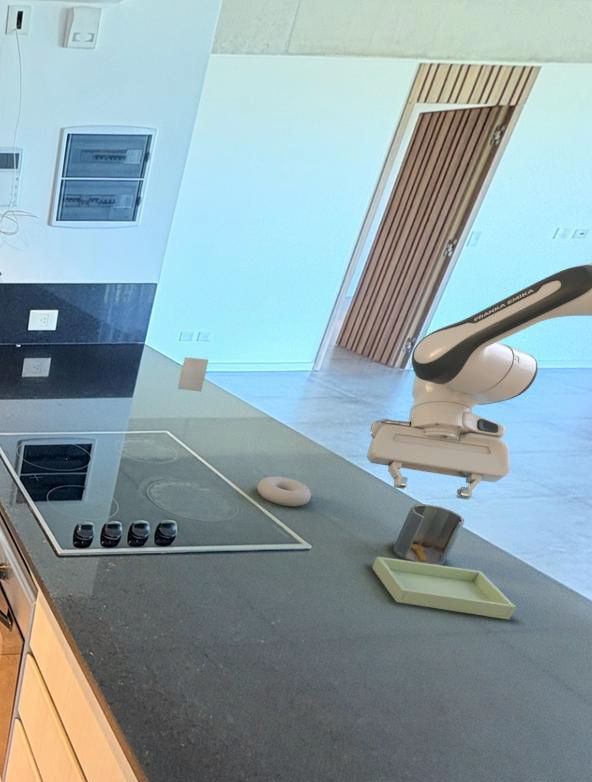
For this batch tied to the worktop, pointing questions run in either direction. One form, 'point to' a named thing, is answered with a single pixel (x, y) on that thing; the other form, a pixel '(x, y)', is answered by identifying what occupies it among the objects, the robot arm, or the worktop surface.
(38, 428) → the worktop surface
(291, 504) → the donut
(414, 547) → the key
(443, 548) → the steel cup
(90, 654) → the worktop surface
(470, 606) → the tray
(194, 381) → the pinkish tan block
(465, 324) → the robot arm
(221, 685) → the worktop surface
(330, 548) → the worktop surface
